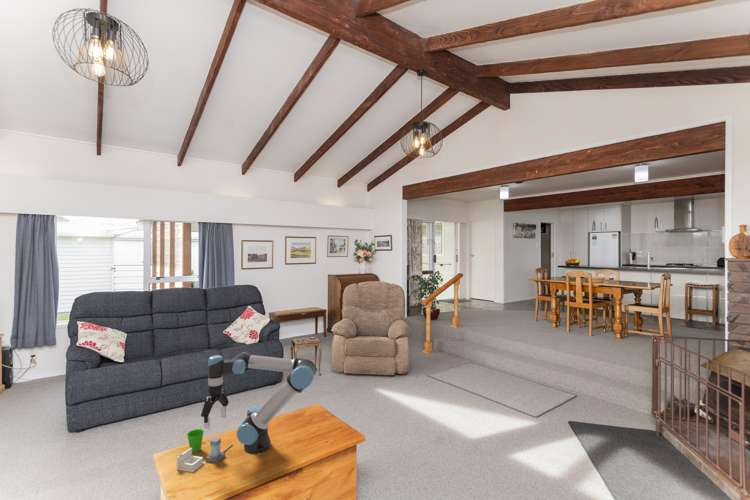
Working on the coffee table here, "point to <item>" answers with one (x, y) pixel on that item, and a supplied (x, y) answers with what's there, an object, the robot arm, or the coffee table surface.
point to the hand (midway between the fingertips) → (215, 422)
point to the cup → (195, 439)
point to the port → (189, 461)
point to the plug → (215, 447)
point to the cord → (227, 448)
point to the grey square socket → (215, 460)
